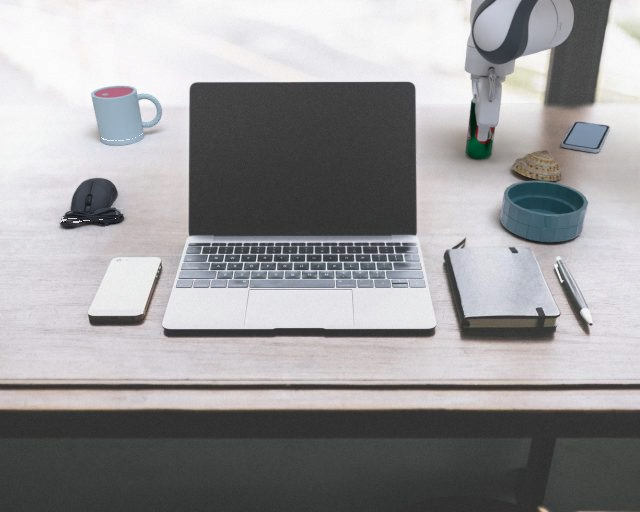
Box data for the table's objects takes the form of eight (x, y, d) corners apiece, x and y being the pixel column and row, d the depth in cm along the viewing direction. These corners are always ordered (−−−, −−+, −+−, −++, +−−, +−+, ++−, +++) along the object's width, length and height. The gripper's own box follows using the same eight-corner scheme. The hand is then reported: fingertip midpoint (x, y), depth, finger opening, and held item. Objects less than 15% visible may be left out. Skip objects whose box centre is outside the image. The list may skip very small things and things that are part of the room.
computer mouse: (131, 186, 112) (127, 167, 110) (124, 224, 100) (120, 203, 98) (73, 192, 111) (68, 172, 109) (59, 230, 99) (53, 209, 97)
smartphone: (560, 144, 124) (574, 120, 135) (559, 148, 125) (574, 124, 136) (599, 150, 121) (611, 125, 132) (598, 154, 122) (610, 129, 133)
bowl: (573, 210, 102) (579, 182, 99) (588, 248, 91) (595, 218, 89) (496, 206, 103) (500, 178, 101) (503, 242, 93) (508, 213, 91)
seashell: (506, 154, 117) (549, 139, 114) (514, 179, 119) (556, 165, 117) (514, 171, 110) (560, 156, 107) (522, 198, 112) (567, 183, 110)
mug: (99, 147, 129) (89, 100, 124) (101, 132, 137) (92, 87, 132) (166, 141, 132) (159, 94, 127) (165, 126, 140) (158, 82, 134)
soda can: (469, 149, 125) (476, 90, 119) (494, 153, 123) (502, 93, 117) (461, 157, 121) (468, 97, 115) (486, 162, 119) (495, 101, 113)
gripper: (513, 77, 103) (502, 154, 111) (502, 48, 121) (493, 117, 128) (475, 76, 104) (466, 153, 111) (469, 47, 121) (462, 116, 129)
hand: (480, 133), depth 120 cm, fingers closed on soda can, 5 cm apart
